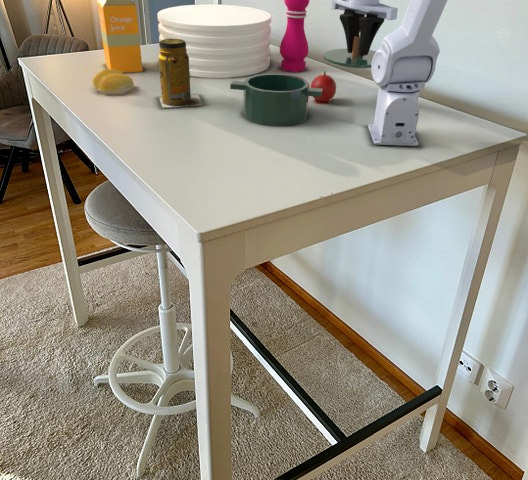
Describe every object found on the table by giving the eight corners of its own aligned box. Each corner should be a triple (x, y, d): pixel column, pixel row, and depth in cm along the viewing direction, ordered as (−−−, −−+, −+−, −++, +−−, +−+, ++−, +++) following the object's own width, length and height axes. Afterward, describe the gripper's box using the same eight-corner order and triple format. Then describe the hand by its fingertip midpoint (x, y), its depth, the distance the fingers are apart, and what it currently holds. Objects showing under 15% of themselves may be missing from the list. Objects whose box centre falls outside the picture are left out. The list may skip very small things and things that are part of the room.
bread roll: (107, 98, 116) (105, 78, 114) (88, 87, 121) (85, 69, 119) (142, 91, 120) (140, 72, 118) (122, 81, 126) (119, 63, 124)
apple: (335, 106, 116) (339, 75, 112) (309, 105, 116) (312, 74, 112) (333, 98, 120) (336, 68, 117) (308, 97, 120) (311, 67, 117)
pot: (315, 130, 104) (318, 96, 100) (223, 121, 107) (223, 87, 103) (323, 109, 114) (326, 77, 110) (239, 101, 117) (239, 70, 113)
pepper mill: (291, 74, 135) (297, -18, 123) (273, 67, 140) (276, -22, 128) (313, 69, 139) (320, -20, 127) (294, 63, 143) (299, -24, 132)
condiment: (159, 97, 117) (153, 37, 110) (198, 95, 119) (195, 36, 112) (162, 108, 111) (157, 45, 104) (203, 106, 113) (201, 44, 106)
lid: (389, 73, 105) (394, 46, 102) (319, 67, 107) (321, 40, 104) (390, 56, 116) (394, 31, 113) (326, 51, 118) (329, 27, 115)
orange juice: (111, 73, 131) (98, -22, 119) (105, 64, 138) (92, -27, 126) (143, 71, 134) (134, -23, 122) (136, 62, 140) (127, -28, 128)
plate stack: (140, 59, 142) (135, 10, 136) (224, 45, 158) (223, 1, 151) (205, 84, 126) (203, 30, 119) (292, 66, 141) (294, 17, 135)
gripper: (411, -21, 101) (399, 57, 109) (350, -29, 109) (342, 44, 117) (389, -18, 97) (377, 63, 105) (327, -27, 105) (320, 48, 113)
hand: (357, 53), depth 111 cm, fingers closed on lid, 2 cm apart
